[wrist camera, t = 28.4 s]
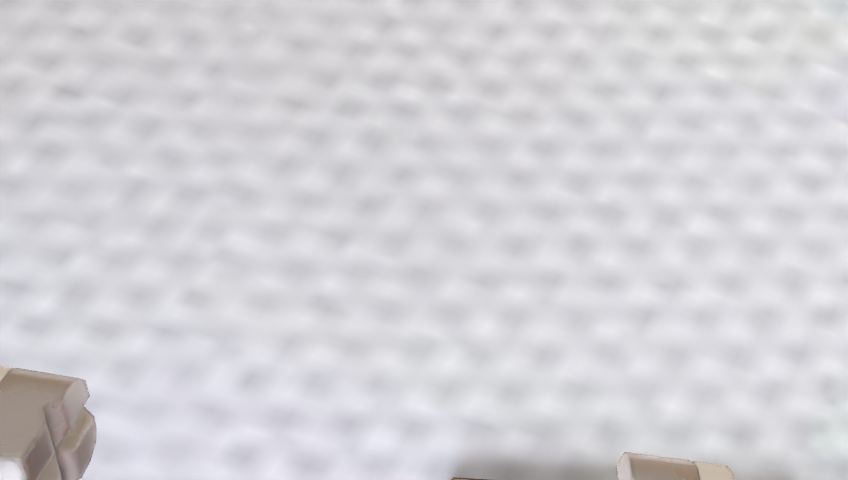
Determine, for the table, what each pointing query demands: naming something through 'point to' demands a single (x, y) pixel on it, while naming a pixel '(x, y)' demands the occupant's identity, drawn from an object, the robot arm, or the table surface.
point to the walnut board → (466, 479)
